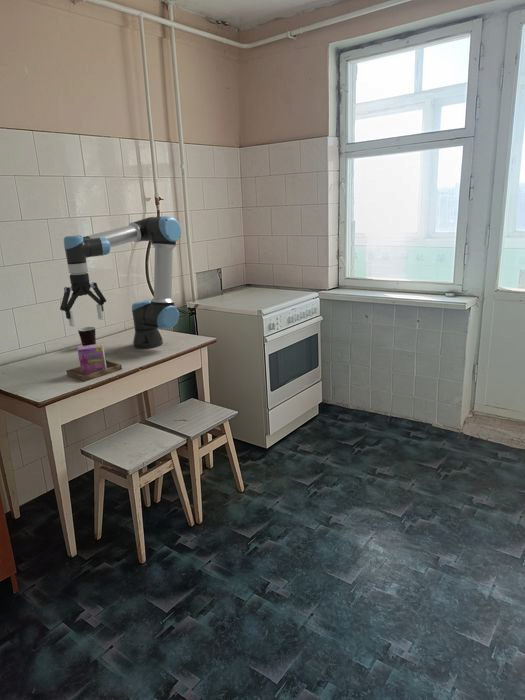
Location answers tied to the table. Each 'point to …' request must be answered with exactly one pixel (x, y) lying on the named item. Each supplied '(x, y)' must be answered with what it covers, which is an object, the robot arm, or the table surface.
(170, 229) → the robot arm
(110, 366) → the tray
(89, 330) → the coffee mug
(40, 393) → the table surface
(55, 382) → the table surface
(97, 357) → the box
